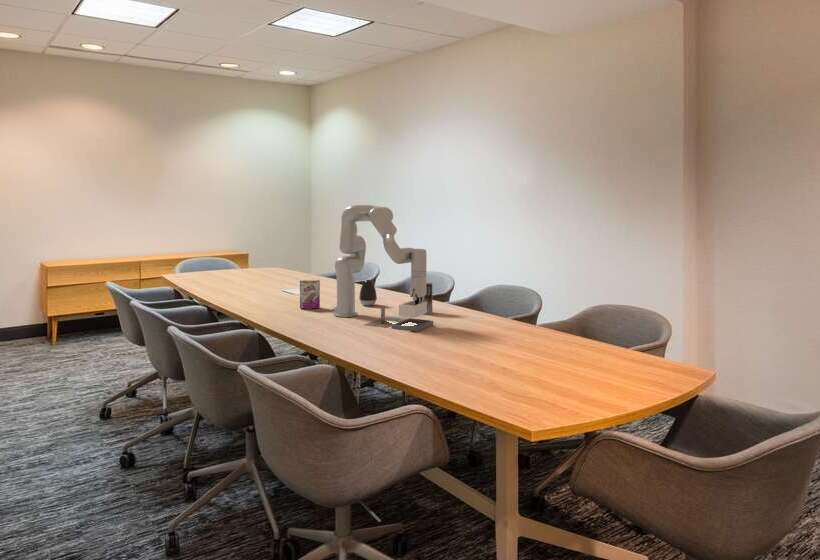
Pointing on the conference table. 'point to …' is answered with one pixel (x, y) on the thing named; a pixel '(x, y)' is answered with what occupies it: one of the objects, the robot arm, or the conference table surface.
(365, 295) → the dark vase
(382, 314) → the stake stand
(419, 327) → the tray
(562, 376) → the conference table surface
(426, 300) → the coffee box
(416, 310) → the collar
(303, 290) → the candy bar box
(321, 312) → the conference table surface
